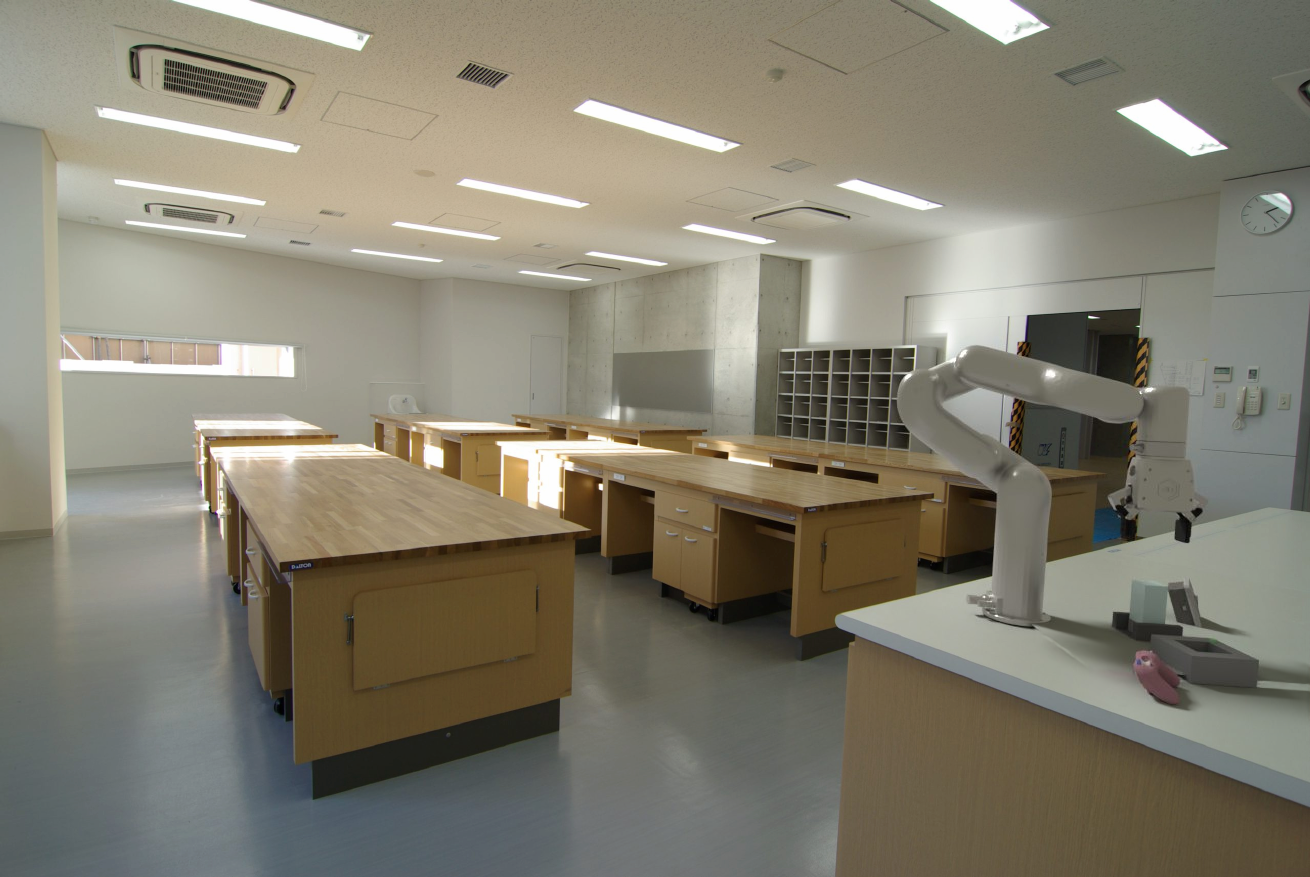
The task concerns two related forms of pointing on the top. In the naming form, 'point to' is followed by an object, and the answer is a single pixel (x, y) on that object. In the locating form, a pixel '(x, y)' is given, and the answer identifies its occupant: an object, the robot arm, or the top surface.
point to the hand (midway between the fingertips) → (1154, 540)
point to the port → (1206, 660)
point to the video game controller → (1156, 676)
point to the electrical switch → (1184, 603)
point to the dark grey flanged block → (1143, 628)
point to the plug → (1147, 603)
